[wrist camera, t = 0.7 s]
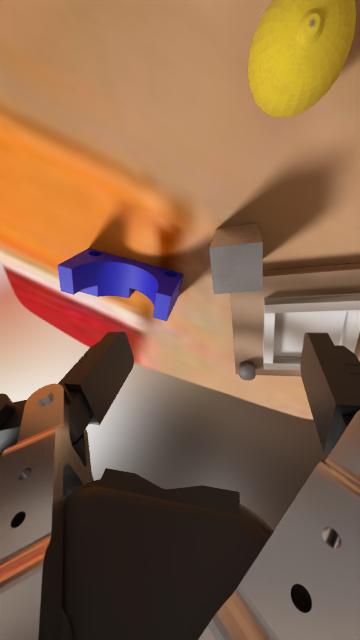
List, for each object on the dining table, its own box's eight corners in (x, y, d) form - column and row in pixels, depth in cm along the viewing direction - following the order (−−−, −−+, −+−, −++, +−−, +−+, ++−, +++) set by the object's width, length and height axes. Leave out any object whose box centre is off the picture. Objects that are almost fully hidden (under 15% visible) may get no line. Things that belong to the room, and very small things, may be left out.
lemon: (347, 54, 16) (418, -20, 10) (285, 140, 19) (308, 128, 13) (285, -4, 15) (317, -128, 9) (231, 95, 19) (226, 58, 12)
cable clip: (90, 280, 31) (62, 302, 26) (89, 248, 29) (57, 265, 24) (176, 305, 30) (164, 332, 26) (183, 273, 28) (171, 296, 23)
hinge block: (216, 228, 24) (209, 248, 18) (257, 222, 23) (262, 241, 17) (220, 265, 26) (214, 293, 21) (258, 262, 25) (262, 290, 19)
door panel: (229, 273, 26) (228, 285, 24) (404, 259, 22) (424, 271, 20) (236, 366, 34) (235, 382, 31) (368, 369, 29) (380, 388, 27)
